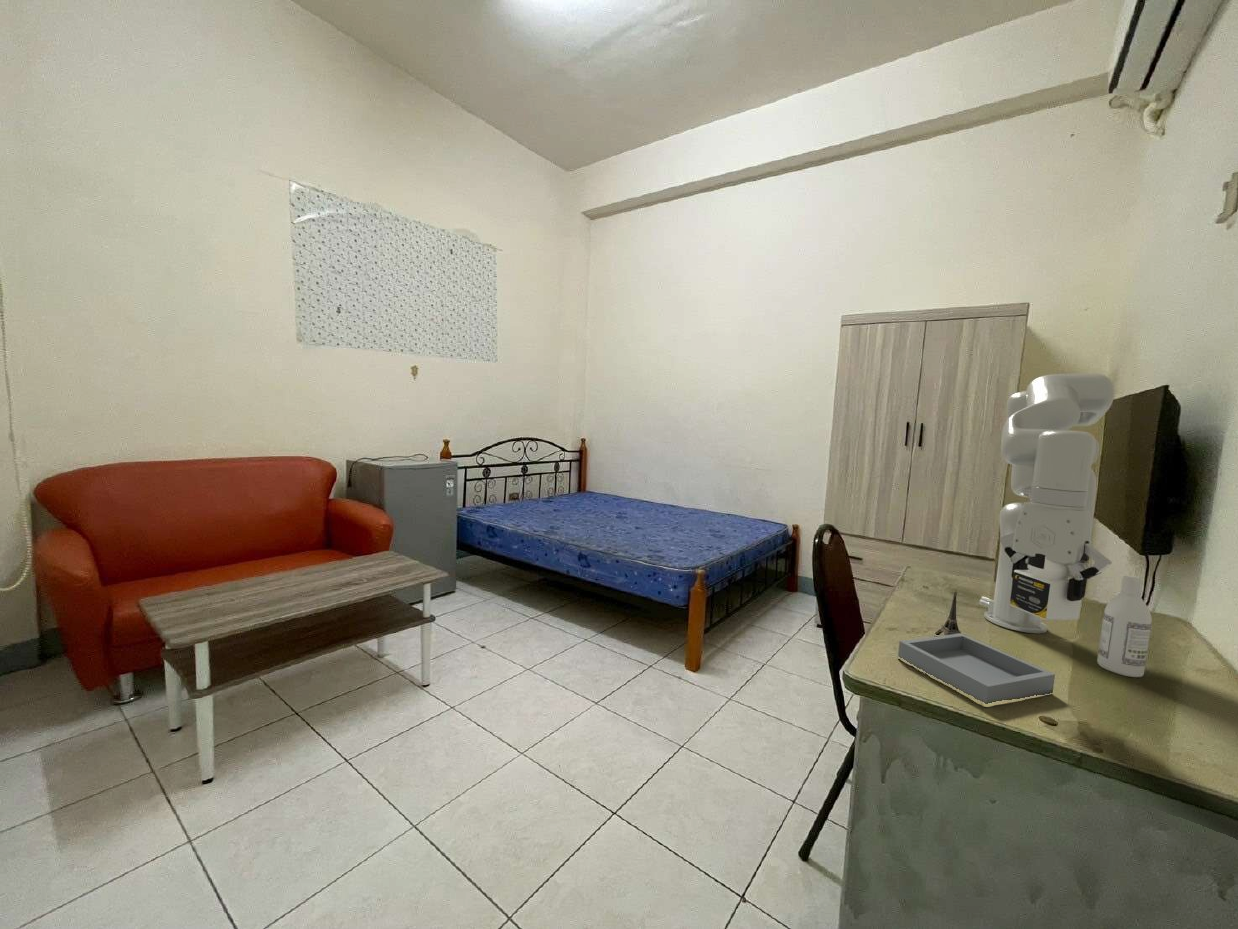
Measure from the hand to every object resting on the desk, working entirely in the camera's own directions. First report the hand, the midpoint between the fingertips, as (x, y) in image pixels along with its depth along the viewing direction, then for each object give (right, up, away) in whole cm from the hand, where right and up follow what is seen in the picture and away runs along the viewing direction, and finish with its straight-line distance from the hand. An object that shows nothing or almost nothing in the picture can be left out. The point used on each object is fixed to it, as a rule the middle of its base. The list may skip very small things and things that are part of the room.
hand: (1045, 591), depth 90 cm
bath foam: (+27, -20, +13) cm, 36 cm away
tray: (-9, -19, +7) cm, 22 cm away
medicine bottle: (0, -4, 0) cm, 4 cm away
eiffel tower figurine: (-2, -19, +23) cm, 30 cm away
